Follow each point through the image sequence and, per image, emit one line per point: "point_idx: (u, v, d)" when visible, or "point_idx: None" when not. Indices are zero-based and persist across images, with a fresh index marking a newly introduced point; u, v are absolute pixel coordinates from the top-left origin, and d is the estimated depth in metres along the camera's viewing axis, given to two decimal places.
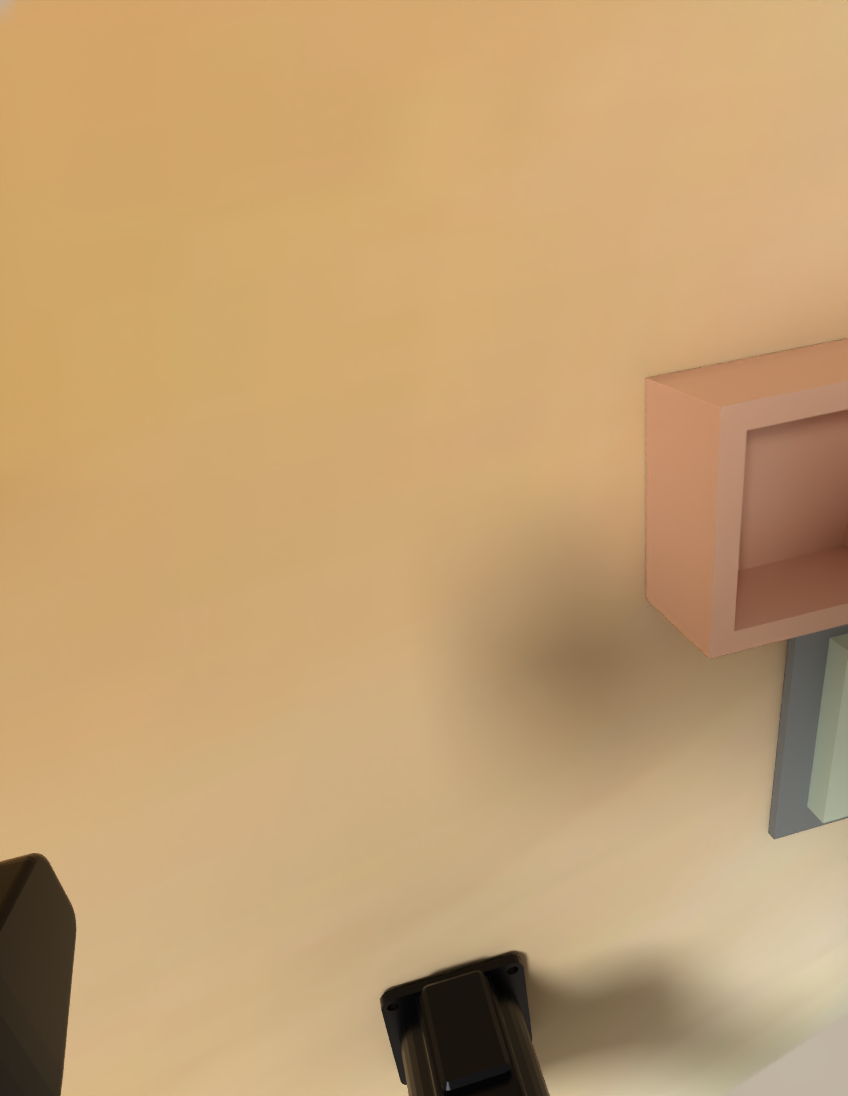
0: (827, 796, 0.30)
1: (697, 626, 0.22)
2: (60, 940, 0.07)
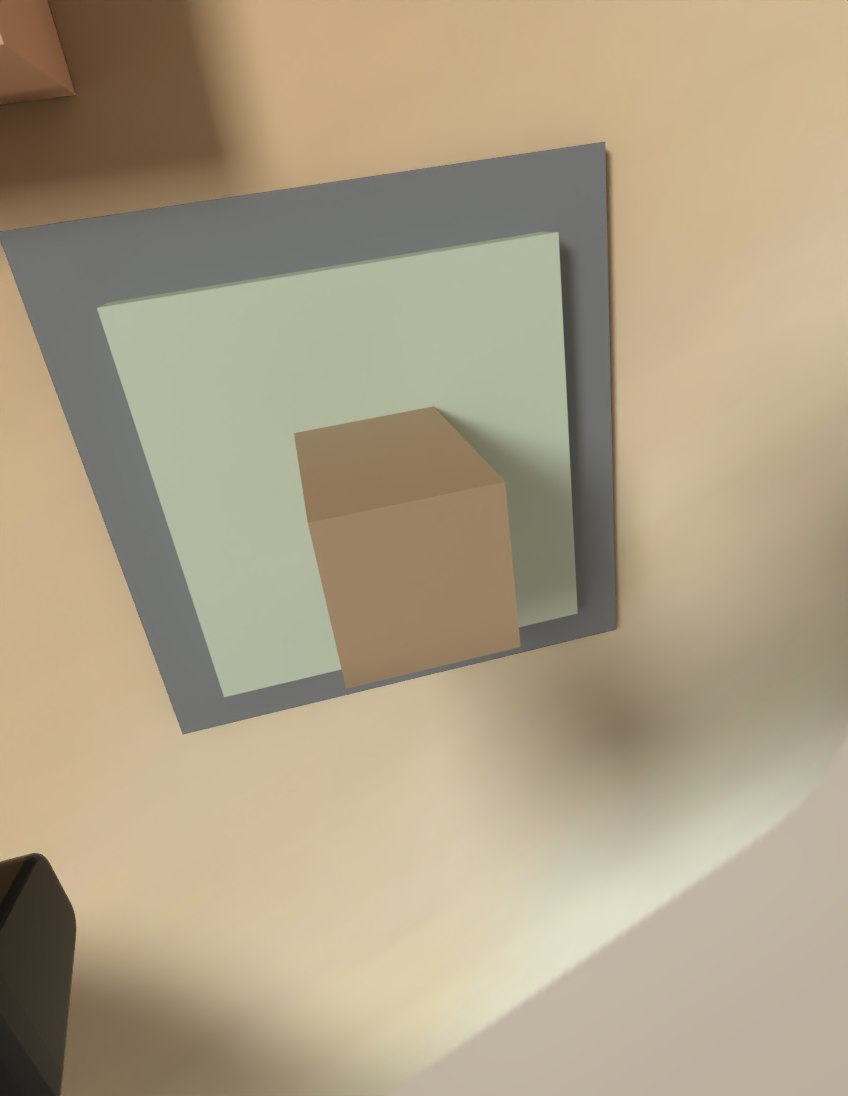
0: (207, 642, 0.16)
1: None
2: (60, 940, 0.07)
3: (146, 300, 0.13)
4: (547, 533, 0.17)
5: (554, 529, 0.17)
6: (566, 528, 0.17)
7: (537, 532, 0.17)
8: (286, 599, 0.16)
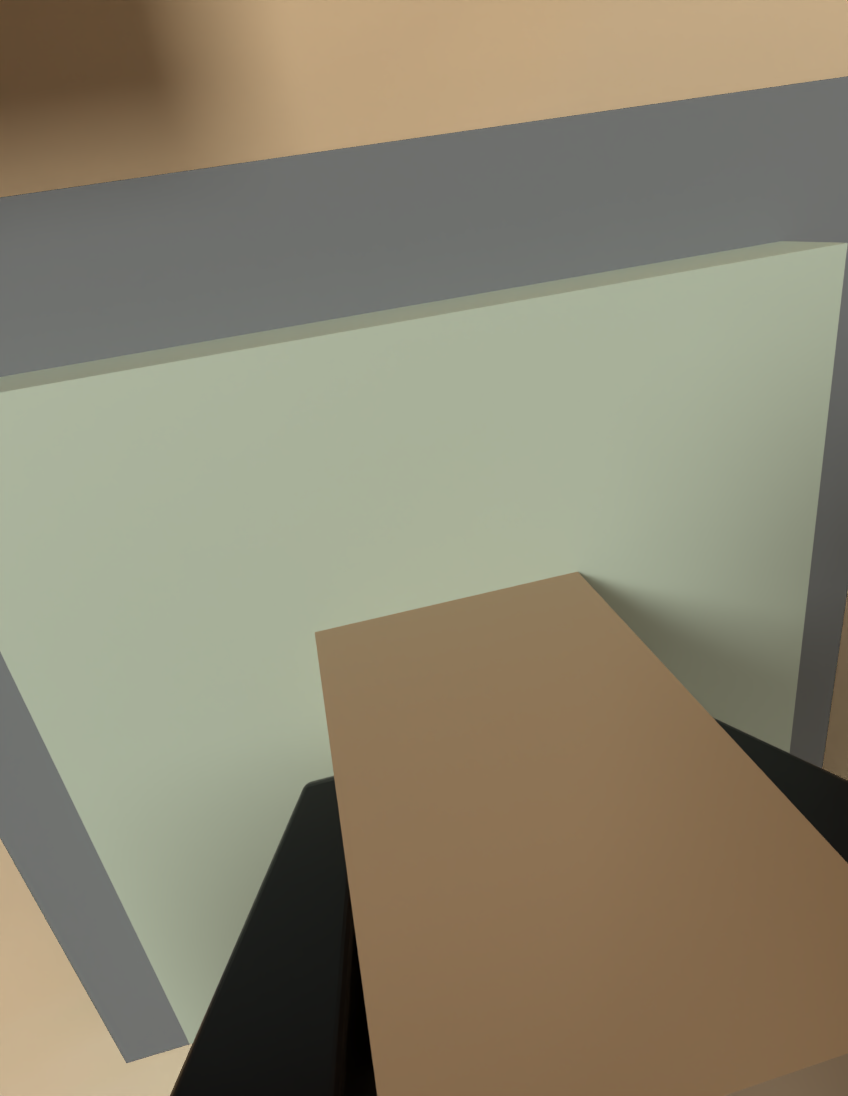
0: (157, 972, 0.09)
1: None
2: None
3: None
4: None
5: None
6: None
7: None
8: None
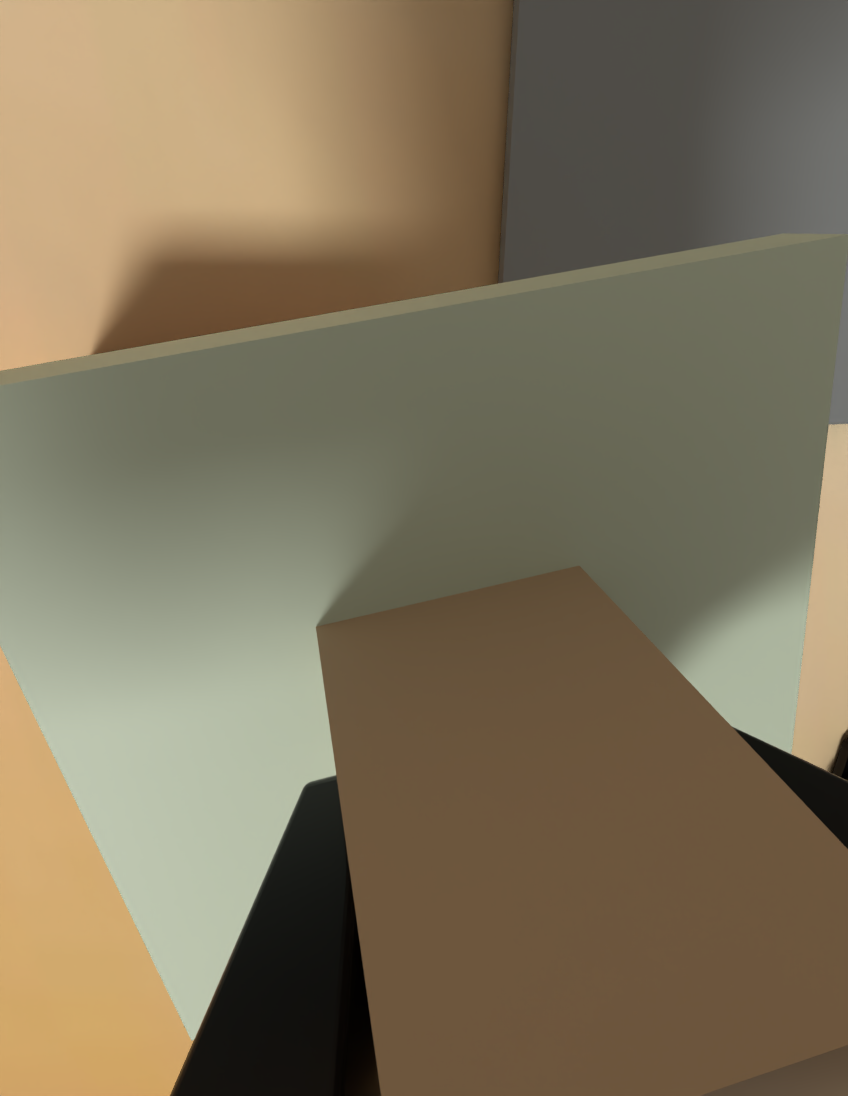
0: (158, 968, 0.09)
1: None
2: None
3: None
4: None
5: None
6: (780, 744, 0.10)
7: None
8: None
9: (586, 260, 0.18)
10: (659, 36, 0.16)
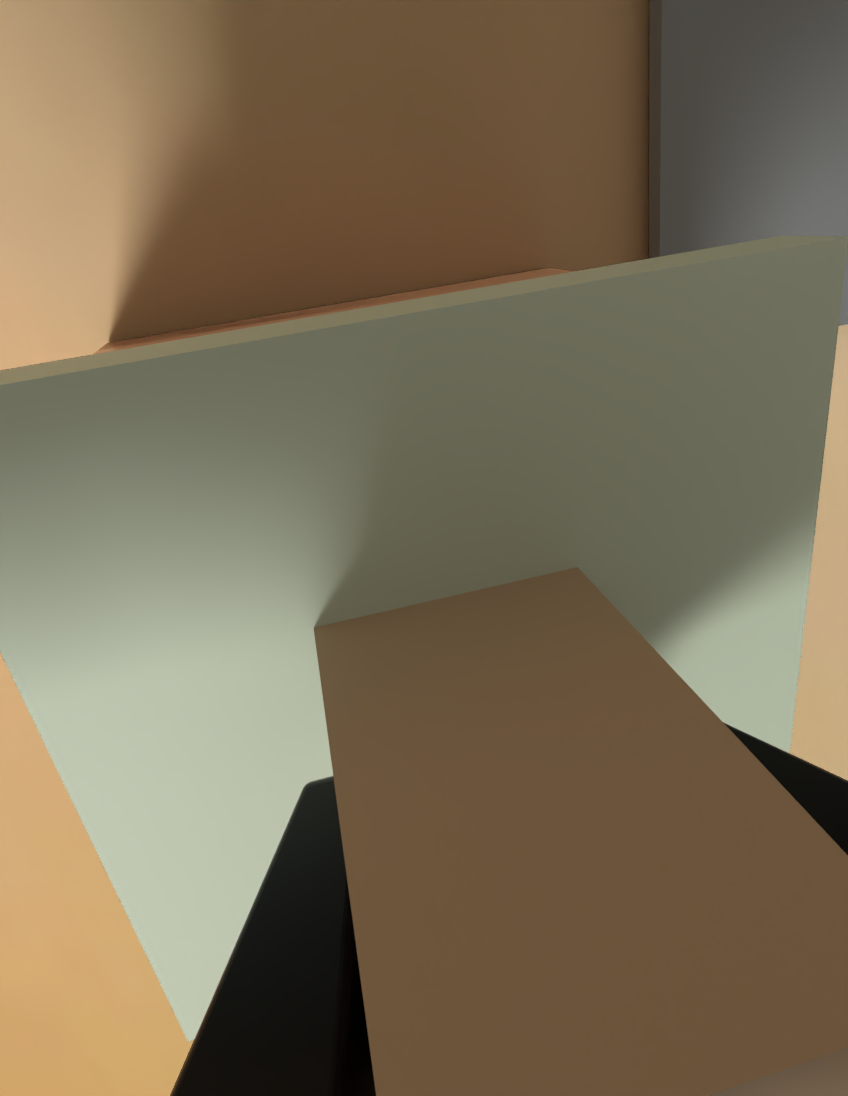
0: (155, 969, 0.09)
1: None
2: None
3: None
4: None
5: None
6: (779, 746, 0.10)
7: None
8: None
9: (774, 81, 0.12)
10: None
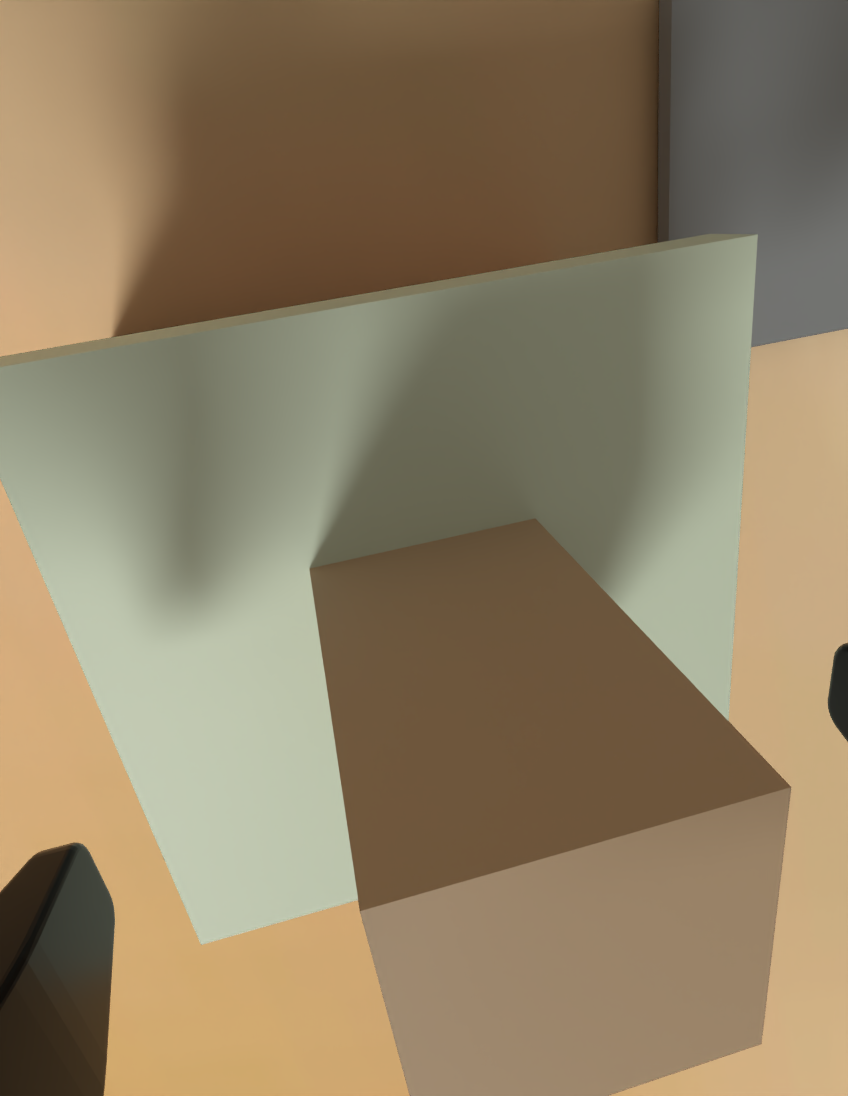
0: (173, 875, 0.10)
1: None
2: (101, 929, 0.07)
3: (47, 360, 0.07)
4: None
5: (703, 686, 0.11)
6: (720, 683, 0.11)
7: None
8: (296, 808, 0.10)
9: (785, 81, 0.12)
10: None
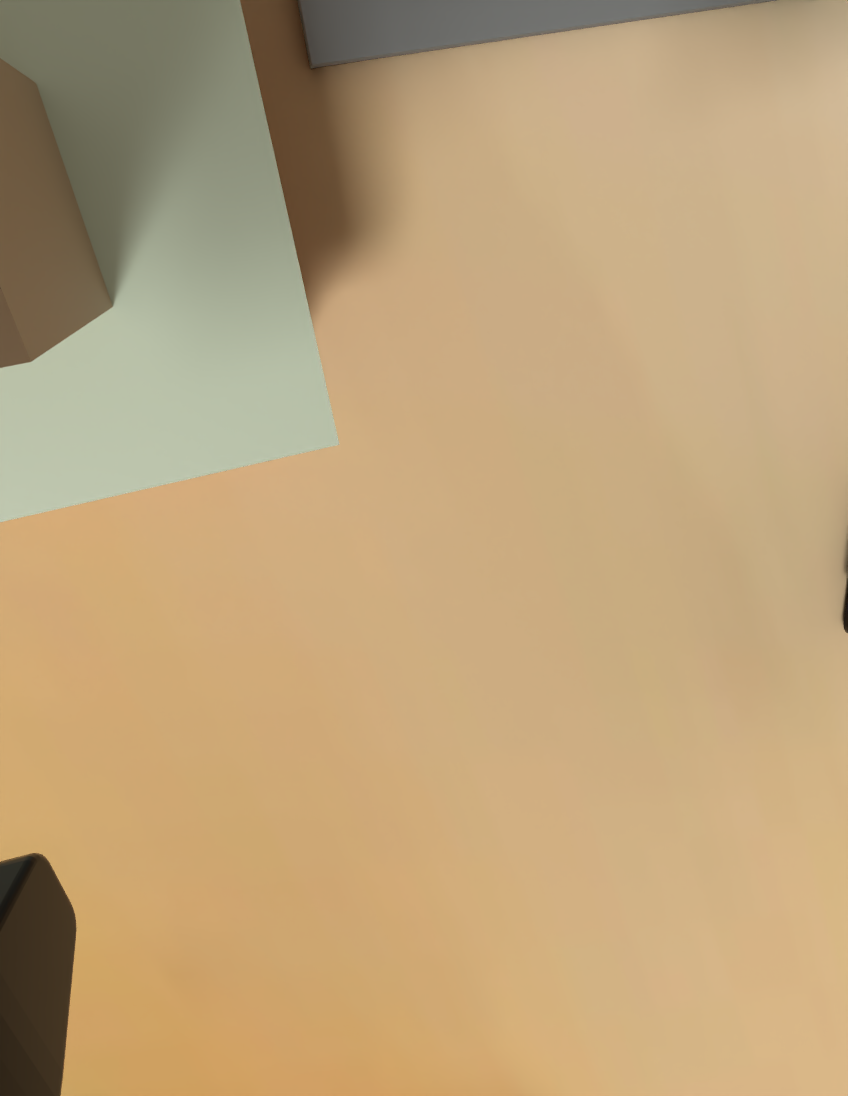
0: None
1: None
2: (60, 940, 0.07)
3: None
4: (269, 314, 0.12)
5: (279, 308, 0.12)
6: (297, 306, 0.12)
7: (253, 312, 0.12)
8: None
9: None
10: None
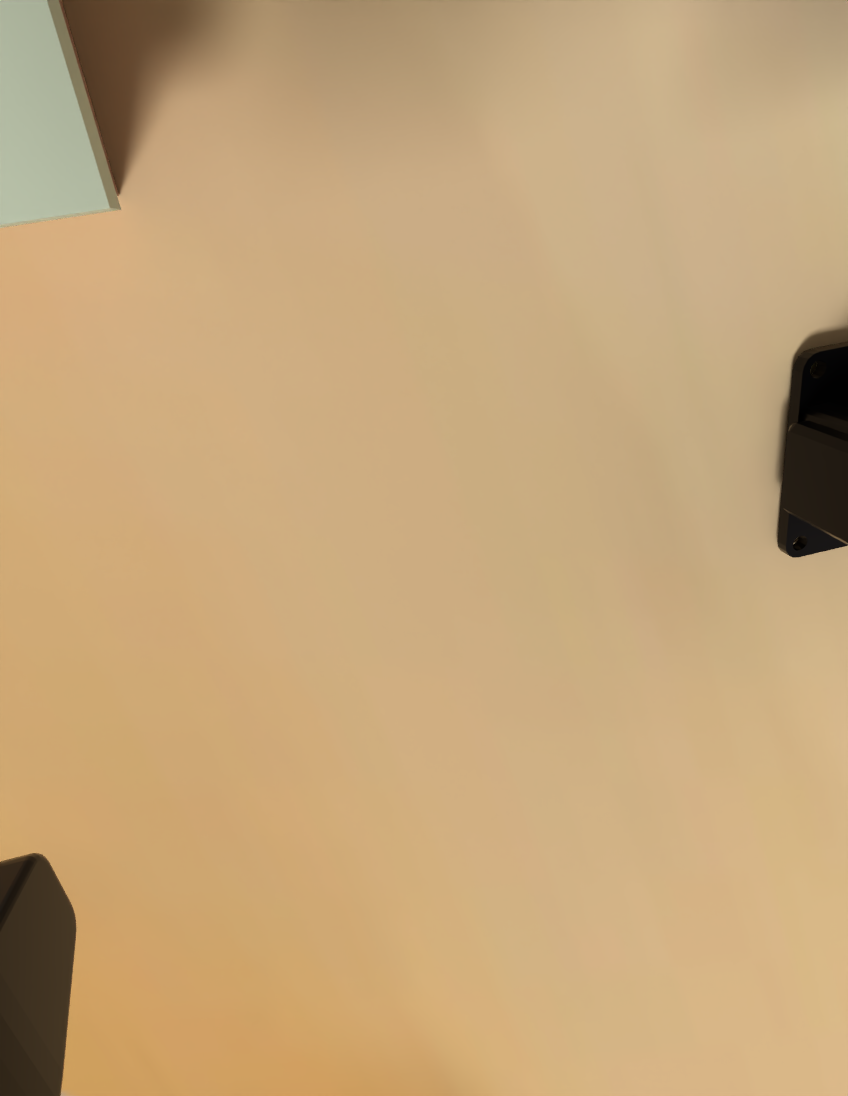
0: None
1: None
2: (60, 940, 0.07)
3: None
4: (5, 26, 0.10)
5: (17, 19, 0.10)
6: (39, 19, 0.10)
7: None
8: None
9: None
10: None
